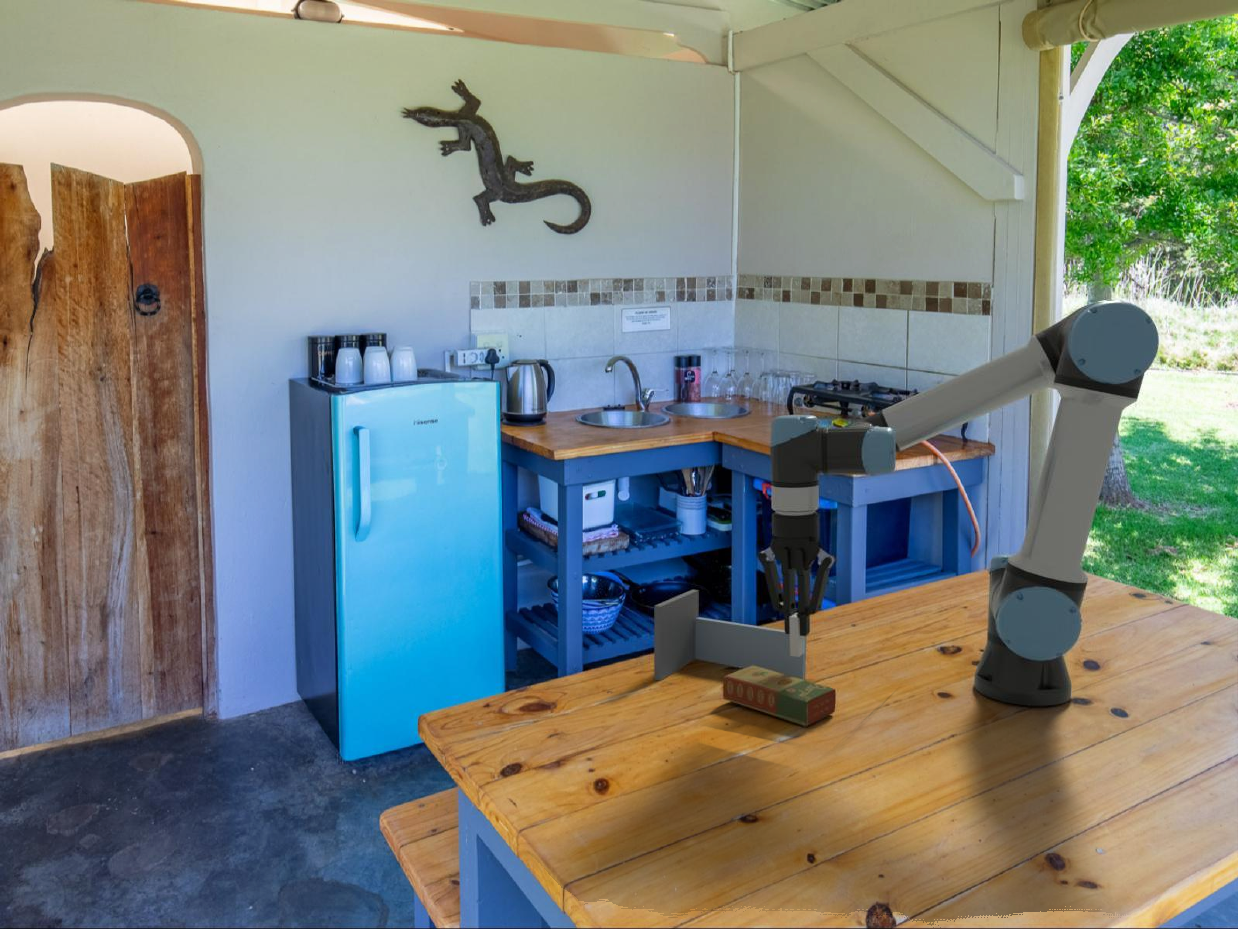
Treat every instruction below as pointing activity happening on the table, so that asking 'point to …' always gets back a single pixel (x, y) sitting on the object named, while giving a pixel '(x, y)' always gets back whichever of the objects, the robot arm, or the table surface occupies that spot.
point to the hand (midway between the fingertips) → (797, 654)
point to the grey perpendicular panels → (717, 641)
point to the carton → (779, 695)
